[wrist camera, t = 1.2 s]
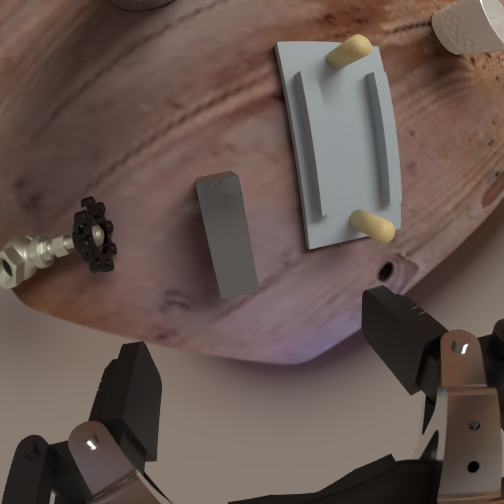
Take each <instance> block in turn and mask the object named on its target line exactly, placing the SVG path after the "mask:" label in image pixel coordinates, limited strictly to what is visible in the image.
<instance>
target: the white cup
mask: <svg viewBox="0 0 504 504" xmlns="http://www.w3.org/2000/svg"><path fill="white" fill-rule="evenodd" d="M432 27H433V30H434V32H435V35H436V36H437V38H438V39H439V41H440V43H441V44H442V45H443V46H444V47H445V48H446V49H447V50H448V51H449V52H451V53H453V54H455V55H459V54H466V53H472V54H474V53H484V52H496V51H504V8H503V7H502V5H501V4H500V3H499V1H497V0H458V1H456V2H454V3H452V4H450V5H448V6H446V7H445V8H443V9H441V10H439V11H436V12H435V13H434V14H433V15H432Z"/></svg>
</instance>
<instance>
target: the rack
mask: <svg viewBox="0 0 504 504" xmlns="http://www.w3.org/2000/svg"><path fill="white" fill-rule="evenodd" d="M274 47H275V52H276V57H277V61H278V66H279V71H280V76H281V81H282V86H283V92H284V97H285V102H286V108H287V114H288V119H289V125H290V131H291V137H292V143H293V150H294V156H295V163H296V169H297V176H298V183H299V191H300V198H301V206H302V214H303V222H304V230H305V239H306V246H307V247H308V248H309V249H314V248H318V247H322V246H327V245H331V244H336V243H340V242H344V241H349V240H353V239H357V238H362V237H366V236H369V237H371V238H373V239H375V240H376V241H378V242H380V243H382V244H386V243H388V242H390V241H391V240H392V238H393V237H394V234H395V230H396V229H400V228H401V210H400V201H402V193H401V175H400V163H399V152H398V143H397V134H396V127H395V119H394V113H393V107H392V101H391V95H390V90H389V84H388V80H387V75H386V73H384V69H383V64H382V60H381V56H380V52H379V48H378V46H371V43H370V42H369V40H368V39H367V38H365V37H364V36H362V35H354V36H353V37H351V38H349V39H348V40H346V41H345V42H343V43H337V42H303V41H301V42H276V44H275V45H274Z"/></svg>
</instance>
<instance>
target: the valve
mask: <svg viewBox="0 0 504 504" xmlns="http://www.w3.org/2000/svg"><path fill="white" fill-rule="evenodd" d="M84 206H86V208H87V210H83V211H80V212H77V213H75V215H74V221H75V222H74V226H73V230H74V231H73V234H72V237H69V235H68V234H64V235H61V236H57V237H55V238H54V239H52V240H51V239H49V237H48V236H46V235H43V234H42V235H40V234H39V233H38V232H37V231H36V232H33V233H30V234H28V235H25V236H19V237H15V238H13V239H11V240H10V241H9V242H8V243H7V244H6V245H5V247H4V249H2V250H0V286H1V287H2V288H3V289H4V290H5V289H10V288H13V287H16V286H18V285H19V284H20V283H21V282H22V281H24V280H27V279H29V278H30V277H31V276H32V275H33V274H34V273H35V272H36V270H37V268H45V267H49V266H51V265H52V264H53V261H54V257H55V256H57V257H61V256H64V255H68V254H70V253H71V252H72V249H73V248H75V249H76V250H77V251H78V252H80V253H81V255H82V257H83V259H84V260H85V261H86V262H89V268H90V270H91V272H92V273H95V272H100V271H102V272H103V273H104V272H109V271H113V269H114V263H113V260H112V259H111V258H110V256H112V255H116V253H117V248H116V245H115V243H112V241H111V237H110V233H111V232H113V224H112V222H111V221H110V220H109V221H106V220H105V217H104V213H105V205H104V203H103V202H98V203H96V202H95V199H94V197H93V196H90V197H87V198H84V199H82V200H81V207H84ZM93 217H94V218H95V219H96V220H97V222H98V224H99V225H95V226H92V220H93ZM80 225H83V227H82V228H81V227H80ZM102 243H103V251H102V253H101V252H100V251H99V250H98V248H97V246H99V245H101V244H102ZM88 252H89V253H90V255H91V256H89V254H88Z"/></svg>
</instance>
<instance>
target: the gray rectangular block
mask: <svg viewBox="0 0 504 504" xmlns="http://www.w3.org/2000/svg"><path fill="white" fill-rule="evenodd" d="M196 188H197V193H198V198H199V203H200V208H201V212H202V217H203V222H204V226H205V231H206V235H207V240H208V244H209V248H210V253H211V257H212V261H213V266H214V270H215V274H216V278H217V282H218V286H219V291H220V295H221V299H225V298H230V297H234V296H239V295H243V294H248V293H252V292H257V291H259V287H258V281H257V276H256V270H255V265H254V259H253V254H252V248H251V242H250V237H249V231H248V226H247V220H246V215H245V209H244V204H243V198H242V192H241V187H240V181H239V176H238V175H237V174H235V173H233V172H232V171H228V172H223V173H218V174H213V175H208V176H203V177H198V178H197V181H196Z"/></svg>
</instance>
